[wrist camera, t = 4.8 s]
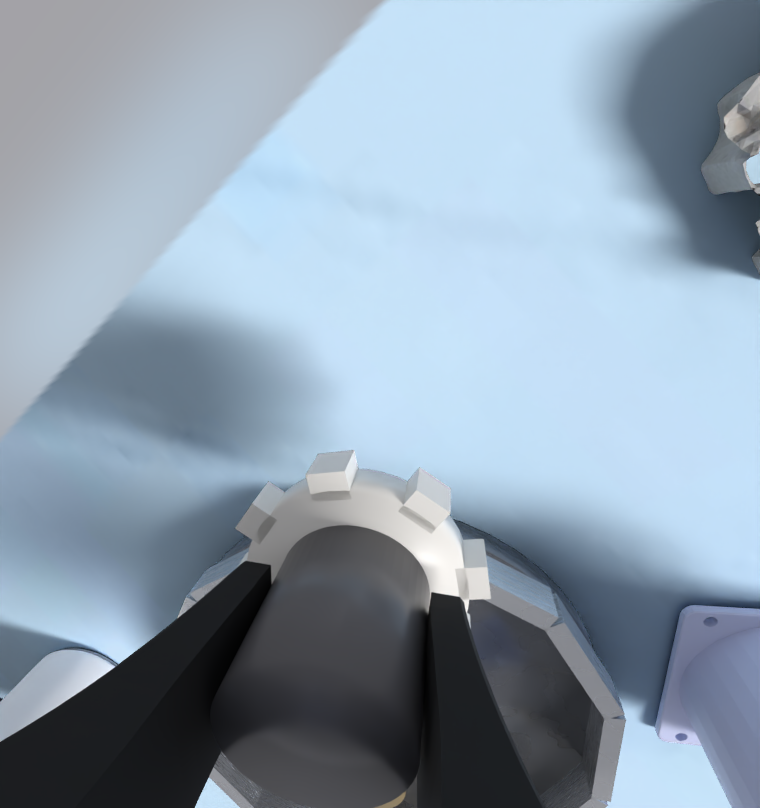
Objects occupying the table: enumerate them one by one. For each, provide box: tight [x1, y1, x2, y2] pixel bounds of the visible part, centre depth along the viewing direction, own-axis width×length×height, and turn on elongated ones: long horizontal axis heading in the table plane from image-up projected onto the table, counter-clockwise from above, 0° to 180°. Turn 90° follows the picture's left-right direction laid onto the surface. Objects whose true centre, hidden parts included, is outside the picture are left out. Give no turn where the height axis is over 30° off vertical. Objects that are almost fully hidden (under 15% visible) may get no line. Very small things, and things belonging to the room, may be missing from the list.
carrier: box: [177, 520, 626, 808], centre depth 21 cm, size 21×21×5 cm
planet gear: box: [210, 450, 491, 808], centre depth 10 cm, size 6×6×4 cm
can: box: [0, 648, 117, 742], centre depth 22 cm, size 6×6×12 cm
